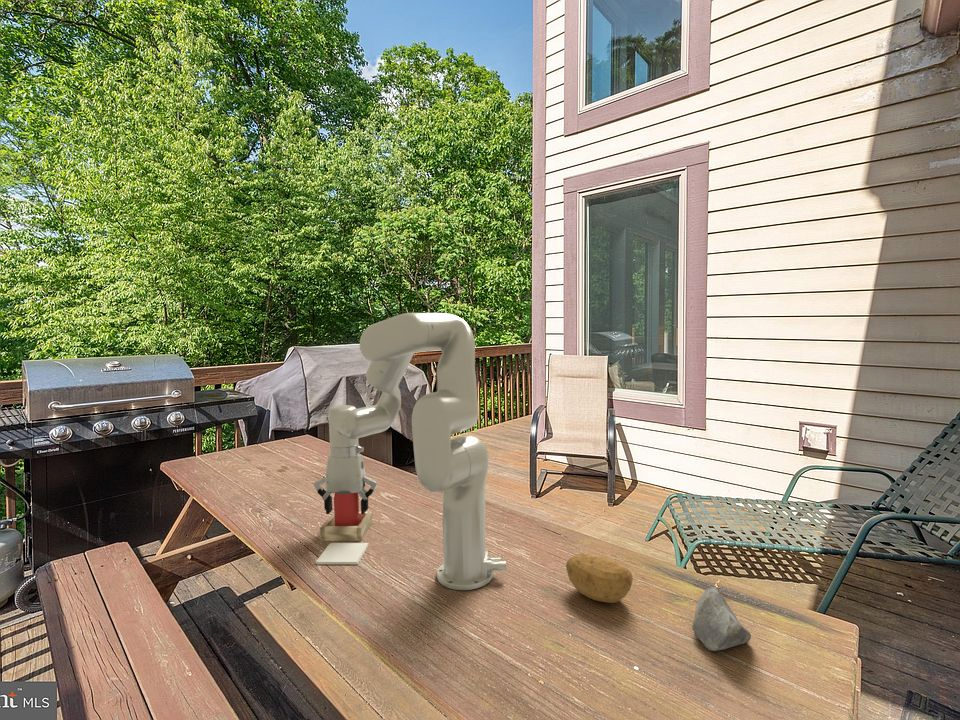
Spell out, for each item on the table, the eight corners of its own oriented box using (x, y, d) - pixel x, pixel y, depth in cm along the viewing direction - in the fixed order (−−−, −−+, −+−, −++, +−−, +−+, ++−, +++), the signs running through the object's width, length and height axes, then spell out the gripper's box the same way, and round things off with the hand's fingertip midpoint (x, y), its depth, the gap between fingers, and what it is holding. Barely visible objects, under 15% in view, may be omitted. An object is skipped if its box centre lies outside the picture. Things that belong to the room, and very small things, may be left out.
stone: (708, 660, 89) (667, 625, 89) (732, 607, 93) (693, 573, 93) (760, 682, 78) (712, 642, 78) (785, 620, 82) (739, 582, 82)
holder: (372, 523, 138) (372, 511, 138) (361, 540, 127) (361, 527, 127) (334, 523, 138) (334, 511, 138) (320, 540, 127) (320, 527, 127)
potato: (580, 575, 108) (580, 541, 107) (640, 599, 98) (641, 561, 98) (555, 594, 101) (555, 557, 100) (618, 621, 91) (618, 581, 90)
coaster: (368, 545, 124) (368, 542, 124) (357, 564, 114) (357, 561, 114) (330, 545, 125) (330, 542, 125) (315, 564, 115) (315, 561, 115)
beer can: (353, 537, 129) (351, 494, 128) (330, 536, 130) (328, 492, 129) (363, 527, 135) (362, 485, 134) (342, 526, 137) (340, 484, 136)
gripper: (379, 447, 134) (381, 507, 136) (318, 447, 135) (320, 507, 136) (372, 454, 127) (374, 517, 128) (307, 455, 128) (310, 517, 129)
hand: (346, 512), depth 132 cm, fingers open, 9 cm apart
